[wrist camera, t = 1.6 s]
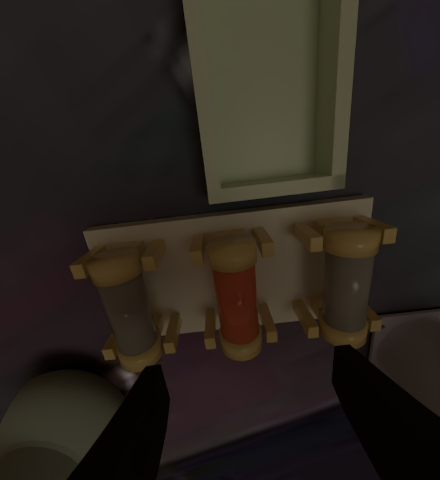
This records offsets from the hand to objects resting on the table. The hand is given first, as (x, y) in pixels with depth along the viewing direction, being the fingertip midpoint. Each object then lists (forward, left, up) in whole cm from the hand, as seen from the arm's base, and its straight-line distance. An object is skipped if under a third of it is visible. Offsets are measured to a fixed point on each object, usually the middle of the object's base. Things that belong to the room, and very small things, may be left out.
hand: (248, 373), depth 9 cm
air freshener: (-12, +16, -10) cm, 22 cm away
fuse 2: (0, -7, -7) cm, 10 cm away
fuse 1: (0, +7, -7) cm, 10 cm away
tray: (+12, -3, -9) cm, 16 cm away
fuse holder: (0, 0, -9) cm, 9 cm away
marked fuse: (0, 0, -7) cm, 7 cm away
